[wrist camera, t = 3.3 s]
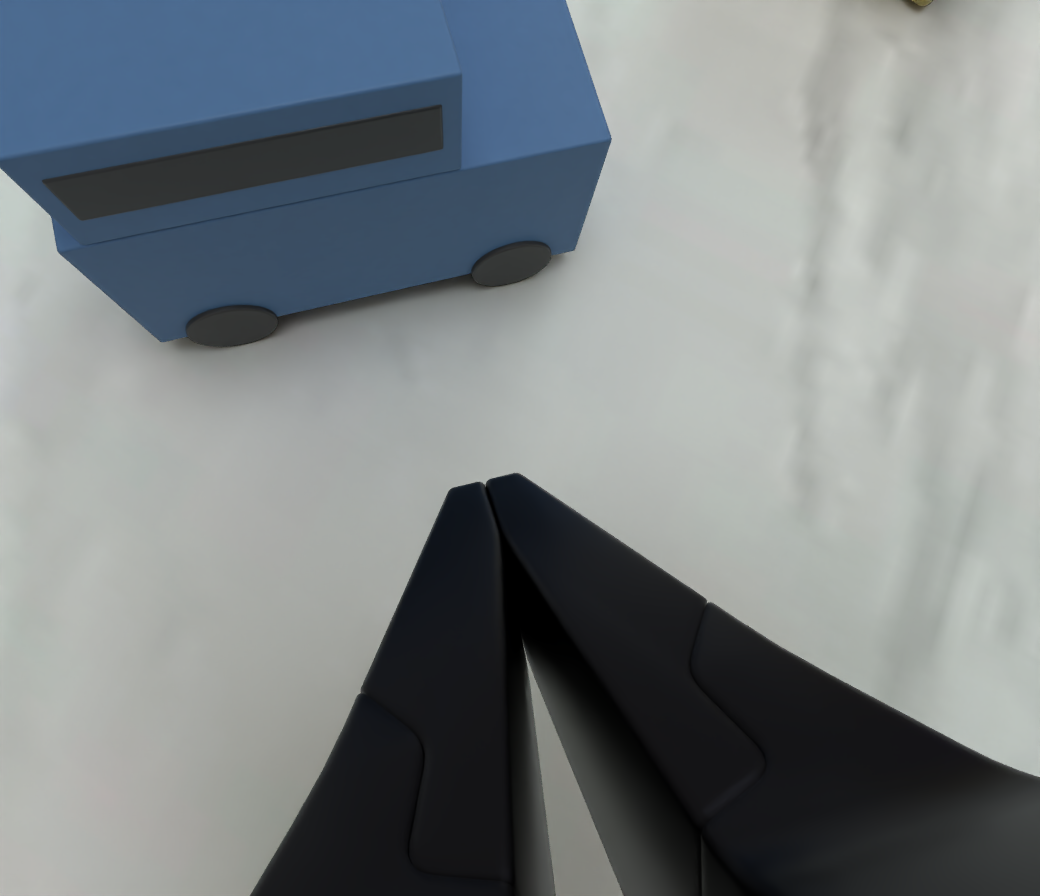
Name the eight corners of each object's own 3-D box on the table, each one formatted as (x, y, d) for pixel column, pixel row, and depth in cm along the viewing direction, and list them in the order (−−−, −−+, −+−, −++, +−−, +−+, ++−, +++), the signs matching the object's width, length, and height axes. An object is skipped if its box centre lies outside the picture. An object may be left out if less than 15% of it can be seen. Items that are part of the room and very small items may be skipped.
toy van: (571, 270, 23) (649, 46, 14) (175, 360, 21) (-42, 174, 12) (523, 116, 24) (566, -191, 14) (141, 191, 22) (-84, -101, 13)
